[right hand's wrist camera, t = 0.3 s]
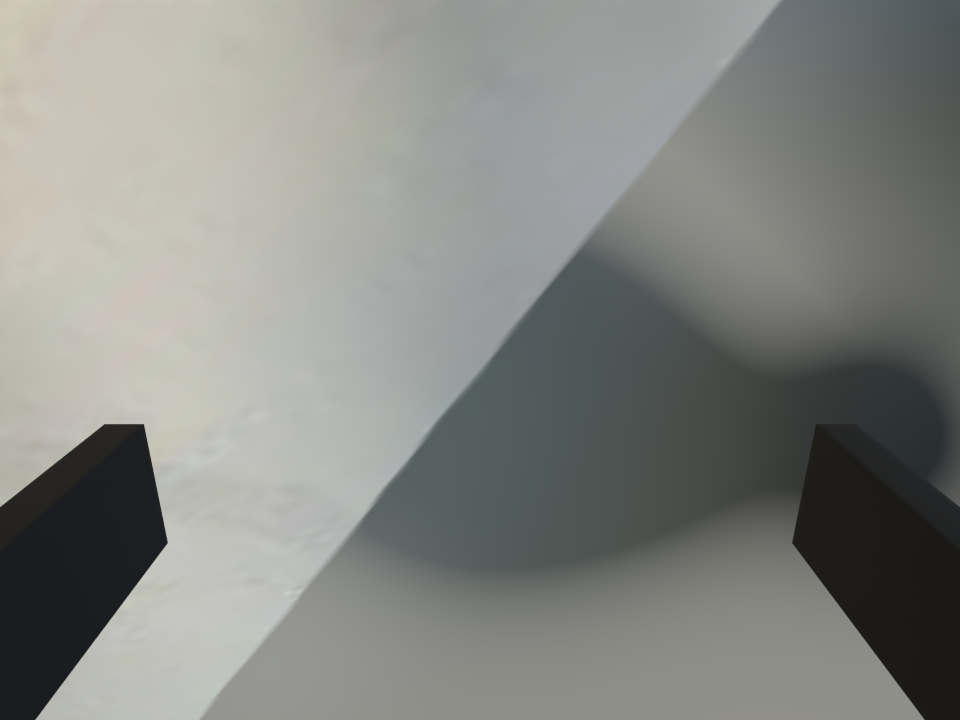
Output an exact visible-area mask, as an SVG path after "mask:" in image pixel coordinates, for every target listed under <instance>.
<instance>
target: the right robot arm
mask: <svg viewBox="0 0 960 720" xmlns="http://www.w3.org/2000/svg"><path fill="white" fill-rule="evenodd" d="M167 543H168V542H167V537H166V532H165V527H164V522H163V517H162V512H161V507H160V502H159V497H158V492H157V487H156V482H155V477H154V472H153V467H152V462H151V457H150V452H149V447H148V442H147V438H146V433H145V428H144V424H104V425H103V426H102V427H101V428H99V429H98V430H97V431H96V432H94V433H93V434H92V435H91V436H89V437H88V438H87V439H85V440H84V441H83V442H82V443H80V444H79V445H78V446H77V447H75V448H74V449H73V450H72V451H70V452H69V453H68V454H67V455H65V456H64V457H63V458H62V459H60V460H59V461H58V462H57V463H55V464H54V465H53V466H51V467H50V468H49V469H48V470H46V471H45V472H44V473H43V474H41V475H40V476H39V477H38V478H36V479H35V480H34V481H33V482H31V483H30V484H29V485H28V486H26V487H25V488H24V489H23V490H21V491H20V492H19V493H17V494H16V495H15V496H14V497H12V498H11V499H10V500H9V501H7V502H6V503H5V504H4V505H2V506H1V507H0V720H35V719H36V718H37V717H38V715H39V714H40V713H41V711H42V710H43V709H44V707H45V706H46V705H47V703H48V702H49V701H50V699H51V698H52V697H53V695H54V694H55V693H56V691H57V690H58V689H59V687H60V686H61V685H62V683H63V682H64V681H65V679H66V678H67V677H68V675H69V674H70V673H71V671H72V670H73V669H74V667H75V666H76V665H77V663H78V662H79V661H80V659H81V658H82V657H83V655H84V654H85V653H86V651H87V650H88V649H89V647H90V646H91V645H92V643H93V642H94V641H95V639H96V638H97V637H98V635H99V634H100V633H101V631H102V630H103V629H104V627H105V626H106V625H107V623H108V622H109V621H110V619H111V618H112V617H113V615H114V614H115V613H116V611H117V610H118V609H119V607H120V606H121V605H122V603H123V602H124V601H125V599H126V598H127V597H128V595H129V594H130V593H131V591H132V590H133V589H134V587H135V586H136V585H137V583H138V582H139V581H140V579H141V578H142V577H143V575H144V574H145V573H146V571H147V570H148V569H149V567H150V566H151V565H152V563H153V562H154V561H155V559H156V558H157V557H158V555H159V554H160V553H161V551H162V550H163V549H164V547H165V546H166V545H167ZM792 543H793V545H794V546H795V547H796V549H797V550H798V551H799V553H800V554H801V555H802V557H803V558H804V559H805V561H806V562H807V563H808V565H809V566H810V567H811V569H812V570H813V571H814V573H815V574H816V575H817V577H818V578H819V579H820V581H821V582H822V583H823V585H824V586H825V587H826V589H827V590H828V591H829V593H830V594H831V595H832V597H833V598H834V599H835V601H836V602H837V603H838V604H839V606H840V607H841V609H842V610H843V611H844V613H845V614H846V615H847V617H848V618H849V619H850V621H851V622H852V623H853V625H854V626H855V627H856V629H857V630H858V631H859V633H860V634H861V635H862V637H863V638H864V639H865V641H866V642H867V643H868V645H869V646H870V647H871V649H872V650H873V651H874V653H875V654H876V655H877V657H878V658H879V659H880V661H881V662H882V663H883V665H884V666H885V667H886V669H887V670H888V671H889V673H890V674H891V675H892V677H893V678H894V679H895V681H896V682H897V683H898V685H899V686H900V687H901V689H902V690H903V691H904V693H905V694H906V695H907V697H908V698H909V699H910V701H911V702H912V703H913V705H914V706H915V707H916V709H917V710H918V711H919V713H920V714H921V715H922V717H923V718H924V719H925V720H960V507H959V506H958V505H956V504H955V503H954V502H953V501H951V500H950V499H949V498H948V497H946V496H945V495H944V494H942V493H941V492H940V491H939V490H937V489H936V488H935V487H934V486H932V485H931V484H930V483H929V482H927V481H926V480H925V479H924V478H922V477H921V476H920V475H919V474H917V473H916V472H915V471H914V470H912V469H911V468H910V467H909V466H907V465H906V464H905V463H903V462H902V461H901V460H900V459H898V458H897V457H896V456H895V455H893V454H892V453H891V452H890V451H888V450H887V449H886V448H885V447H883V446H882V445H881V444H880V443H878V442H877V441H876V440H875V439H873V438H872V437H871V436H869V435H868V434H867V433H866V432H864V431H863V430H862V429H861V428H859V427H858V426H857V425H856V424H816V428H815V433H814V438H813V442H812V447H811V452H810V457H809V462H808V467H807V472H806V477H805V482H804V487H803V492H802V497H801V502H800V507H799V512H798V517H797V522H796V527H795V532H794V537H793V542H792Z"/></svg>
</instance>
